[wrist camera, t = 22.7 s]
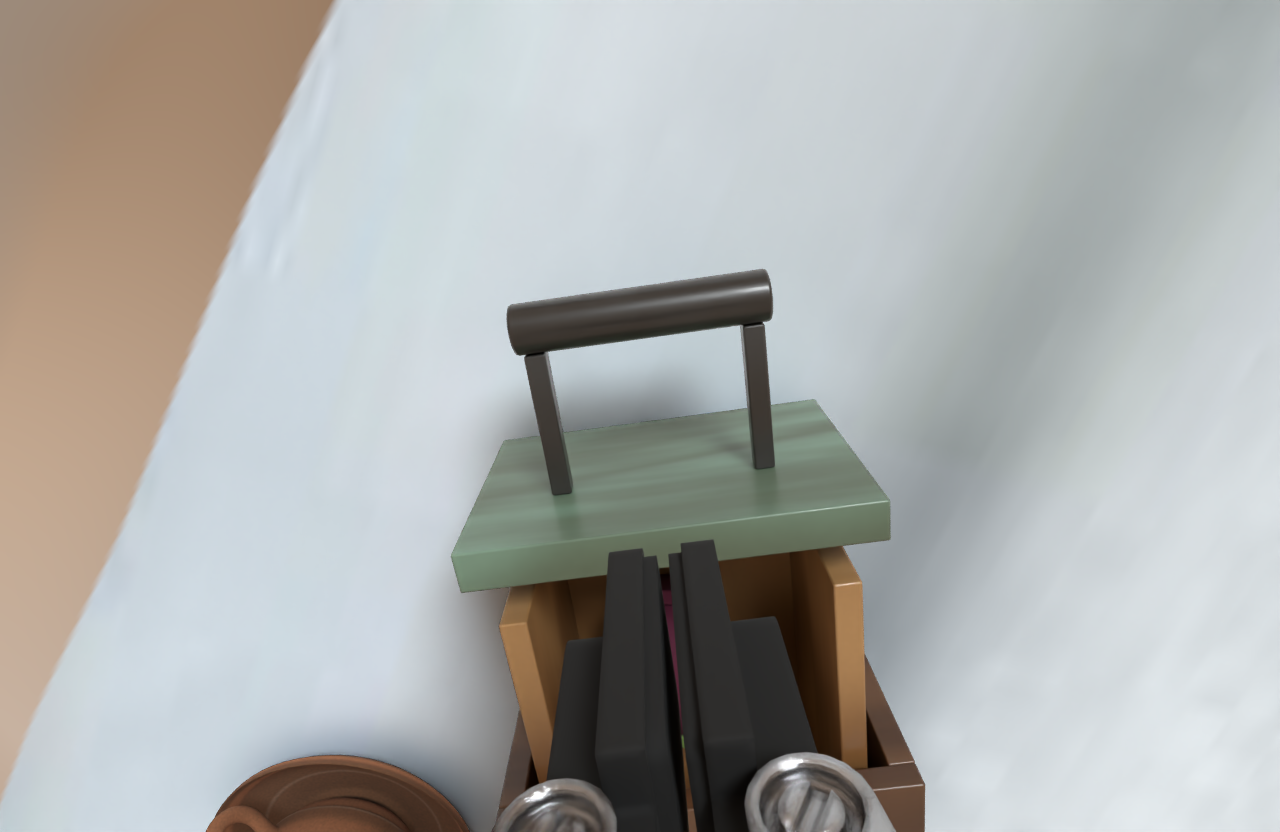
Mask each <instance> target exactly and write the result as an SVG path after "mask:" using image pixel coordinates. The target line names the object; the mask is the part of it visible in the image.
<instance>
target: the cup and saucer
mask: <svg viewBox="0 0 1280 832" xmlns="http://www.w3.org/2000/svg"><path fill="white" fill-rule="evenodd" d="M206 832H470V831H469V829H468V827H467V825H466V823H465V822H464V820H463V819H462V817H461V816H460V814H459V813H458V812H457V810H456V809H455V808H454V807H453V806H452V805H451V803H449V802H448V800H447V799H446V798H445V797H444V796H443V795H441V794H440V793H439V792H438V791H437V790H436V789H434V788H433V787H432V786H431V785H429V784H428V783H426V782H425V781H423V780H422V779H420V778H418V777H417V776H415V775H413V774H411V773H409V772H407V771H405V770H403V769H401V768H398V767H396V766H393V765H390V764H387V763H384V762H381V761H377V760H373V759H368V758H363V757H356V756H346V755H322V756H312V757H305V758H299V759H294V760H290V761H286V762H282V763H279V764H276V765H273V766H271V767H269V768H266V769H264V770H262V771H260V772H259V773H257V774H255V775H253V776H252V777H250V778H249V779H248V780H246V781H245V782H244V783H242V784H241V785H240V786H239V787H238V788H237V789H236V790H235V791H234V792H233V793H232V794H231V795H230V796H229V797H228V798H227V799H226V801H225V802H224V803H223V804H222V806H221V807H220V809H219V810H218V812H217V814H216V816H215V818H214V819H213V821H212V822H211V823H210V825H209V826H208V828H207V830H206Z"/></svg>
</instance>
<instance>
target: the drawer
mask: <svg viewBox="0 0 1280 832" xmlns="http://www.w3.org/2000/svg"><path fill="white" fill-rule="evenodd" d="M772 315H773V296H772V288H771V283H770V278H769V275H768V273H767V271H766V270H764V269H759V270H752V271H745V272H738V273H730V274H723V275H716V276H709V277H702V278H695V279H688V280H681V281H674V282H667V283H660V284H653V285H646V286H638V287H631V288H624V289H617V290H610V291H603V292H596V293H589V294H582V295H575V296H568V297H561V298H554V299H546V300H539V301H532V302H525V303H518V304H511V305H510V306H508V309H507V329H508V335H509V339H510V343H511V346H512V348H513V350H514V352H515V354H516V355H519V356H521V355H525V357H524V361H525V365H526V370H527V375H528V380H529V385H530V390H531V394H532V399H533V404H534V409H535V414H536V419H537V423H538V428H539V433H540V436H534V437H527V438H519V439H512V440H505V441H504V442H503V444H502V446H501V448H500V450H499V453H498V455H497V457H496V459H495V461H494V463H493V466H492V468H491V470H490V472H489V474H488V476H487V479H486V481H485V483H484V485H483V487H482V489H481V492H480V494H479V496H478V498H477V500H476V502H475V504H474V507H473V509H472V511H471V513H470V515H469V517H468V520H467V522H466V524H465V526H464V528H463V530H462V533H461V535H460V537H459V539H458V541H457V543H456V546H455V548H454V550H453V552H452V554H451V558H452V562H453V566H454V569H455V573H456V577H457V580H458V584H459V588H460V591H461V593H465V592H473V591H482V590H490V589H498V588H506V587H510V590H509V593H508V597H507V600H506V604H505V607H504V610H503V614H502V617H501V621H500V624H499V629H500V633H501V637H502V641H503V645H504V649H505V652H506V656H507V660H508V664H509V668H510V672H511V676H512V680H513V683H514V687H515V691H516V695H517V699H518V703H519V707H520V711H521V715H522V718H523V722H524V726H525V730H526V734H527V738H528V742H529V746H530V750H531V753H532V757H533V761H534V765H535V769H536V773H537V777H538V781H539V784H541V783H544V782H546V779H547V772H548V765H549V758H550V751H551V744H552V737H553V730H554V723H555V716H556V709H557V702H558V695H559V688H560V681H561V674H562V667H563V660H564V653H565V648H566V644H567V642H568V641H570V640H578V639H586V638H595V637H603V627H604V612H605V598H606V583H607V568H608V555H609V552H614V551H622V550H630V549H638V548H642V549H643V552H644V557H647V556H655V555H656V556H657V560H658V566H659V573H660V574H670V570H669V558H668V554H671V553H680V552H681V545H680V543H687V542H695V541H703V540H711V539H714V543H715V548H716V553H717V558H718V563H719V568H720V573H721V578H722V583H723V587H724V592H725V597H726V602H727V607H728V612H729V617H730V621H738V620H747V619H755V618H763V617H772V616H775V617H776V619H777V622H778V624H779V627H780V631H781V634H782V637H783V641H784V644H785V647H786V650H787V654H788V657H789V660H790V664H791V667H792V670H793V673H794V677H795V680H796V683H797V687H798V690H799V693H800V696H801V700H802V703H803V706H804V709H805V713H806V716H807V719H808V723H809V726H810V729H811V732H812V736H813V739H814V742H815V746H816V749H817V752H818V754H823V755H828V756H830V757H832V758H835V759H837V760H840V761H842V762H844V763H846V764H847V765H849V766H850V767H851V768H853V769H854V770H856V769H865V768H868V763H867V728H866V694H865V659H864V625H863V590H862V581H861V579H860V578H859V576H858V574H857V572H856V570H855V568H854V566H853V564H852V563H851V561H850V559H849V557H848V555H847V553H846V551H845V550H844V548H843V546H845V545H854V544H862V543H870V542H878V541H886V540H890V538H891V535H890V500H889V498H888V497H887V496H886V494H885V493H884V492H883V490H882V489H881V488H880V486H879V485H878V484H877V482H876V481H875V480H874V478H873V477H872V476H871V474H870V473H869V472H868V470H867V469H866V468H865V466H864V465H863V464H862V462H861V461H860V460H859V458H858V457H857V456H856V454H855V453H854V452H853V450H852V449H851V448H850V446H849V445H848V444H847V442H846V441H845V439H844V438H843V437H842V435H841V434H840V433H839V431H838V430H837V429H836V427H835V426H834V425H833V423H832V422H831V421H830V419H829V418H828V417H827V415H826V414H825V413H824V411H823V410H822V409H821V407H820V406H819V405H818V403H817V402H816V401H815V400H814V399H813V400H805V401H798V402H790V403H783V404H775V405H771V402H770V389H769V375H768V362H767V349H766V336H765V325H764V324H763V322H767V321H770V320H771V318H772ZM738 325H740V329H741V340H742V352H743V363H744V374H745V385H746V396H747V408H745V409H737V410H730V411H722V412H715V413H707V414H700V415H692V416H685V417H677V418H670V419H662V420H655V421H647V422H640V423H632V424H625V425H617V426H609V427H602V428H594V429H587V430H579V431H572V432H564V433H563V428H562V423H561V418H560V413H559V407H558V402H557V397H556V392H555V387H554V382H553V376H552V371H551V366H550V361H549V356H548V352H550V351H557V350H564V349H572V348H579V347H586V346H593V345H600V344H608V343H615V342H622V341H629V340H637V339H644V338H651V337H658V336H666V335H673V334H680V333H687V332H695V331H702V330H709V329H716V328H724V327H731V326H738ZM683 760H684V773H685V785H686V788H690V782H689V776H688V769H687V762H686V755H685V748H683Z"/></svg>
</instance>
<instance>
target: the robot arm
mask: <svg viewBox="0 0 1280 832" xmlns="http://www.w3.org/2000/svg"><path fill="white" fill-rule="evenodd" d="M680 545H681V552H680V553H671V554H668V558H669V570H670V582H671V595H672V607H673V619H674V631H675V644H676V656H677V668H678V680H679V693H680V705H681V717H682V728H683V738H684V747H685V755H686V762H687V769H688V776H689V782H690V789H691V795H692V802H693V808H694V815H695V821H696V828H697V832H896V830H895V829H894V827H893V825H892V823H891V821H890V820H889V818H888V816H887V814H886V813H885V811H884V809H883V807H882V805H881V804H880V802H879V800H878V798H877V796H876V795H875V793H874V791H873V790H872V788H871V787H870V786H869V784H868V783H867V782H866V781H865V779H864V778H863V777H862V775H861V774H859V773H858V772H857V771H855V770H854V769H853V768H851V767H850V766H849V765H847V764H846V763H844V762H842V761H840V760H837V759H835V758H832V757H830V756H828V755H823V754H818V752H817V749H816V746H815V742H814V739H813V736H812V732H811V729H810V726H809V723H808V719H807V716H806V713H805V709H804V706H803V703H802V700H801V696H800V693H799V690H798V687H797V683H796V680H795V677H794V673H793V670H792V667H791V664H790V660H789V657H788V654H787V650H786V647H785V644H784V641H783V637H782V634H781V631H780V627H779V624H778V622H777V619H776V617H775V616H772V617H763V618H755V619H747V620H738V621H730V617H729V612H728V607H727V602H726V597H725V592H724V587H723V583H722V578H721V573H720V568H719V563H718V558H717V553H716V548H715V543H714V539H711V540H703V541H695V542H687V543H680ZM492 832H689V823H688V810H687V798H686V785H685V773H684V760H683V747H682V735H681V722H680V710H679V700H678V692H677V685H676V678H675V671H674V665H673V658H672V652H671V645H670V638H669V632H668V625H667V619H666V612H665V606H664V599H663V592H662V586H661V579H660V573H659V566H658V560H657V556H656V555H655V556H647V557H644V552H643V549H642V548H638V549H630V550H622V551H614V552H609V555H608V568H607V583H606V598H605V612H604V627H603V637H595V638H586V639H578V640H570V641H568V642H567V644H566V648H565V653H564V660H563V667H562V674H561V681H560V688H559V695H558V702H557V709H556V716H555V723H554V730H553V737H552V744H551V751H550V758H549V765H548V772H547V779H546V782H544V783H541V784H538V785H536V786H533V787H531V788H529V789H528V790H527V791H525V792H524V793H522V794H521V795H519V796H518V797H516V798H515V799H514V800H513V801H512V802H511V803H510V804H509V806H508V807H507V808H506V809H505V810H504V811H503V812H502V813H501V815H500V817H499V819H498V820H497V822H496V824H495V826H494V828H493V830H492Z"/></svg>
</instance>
